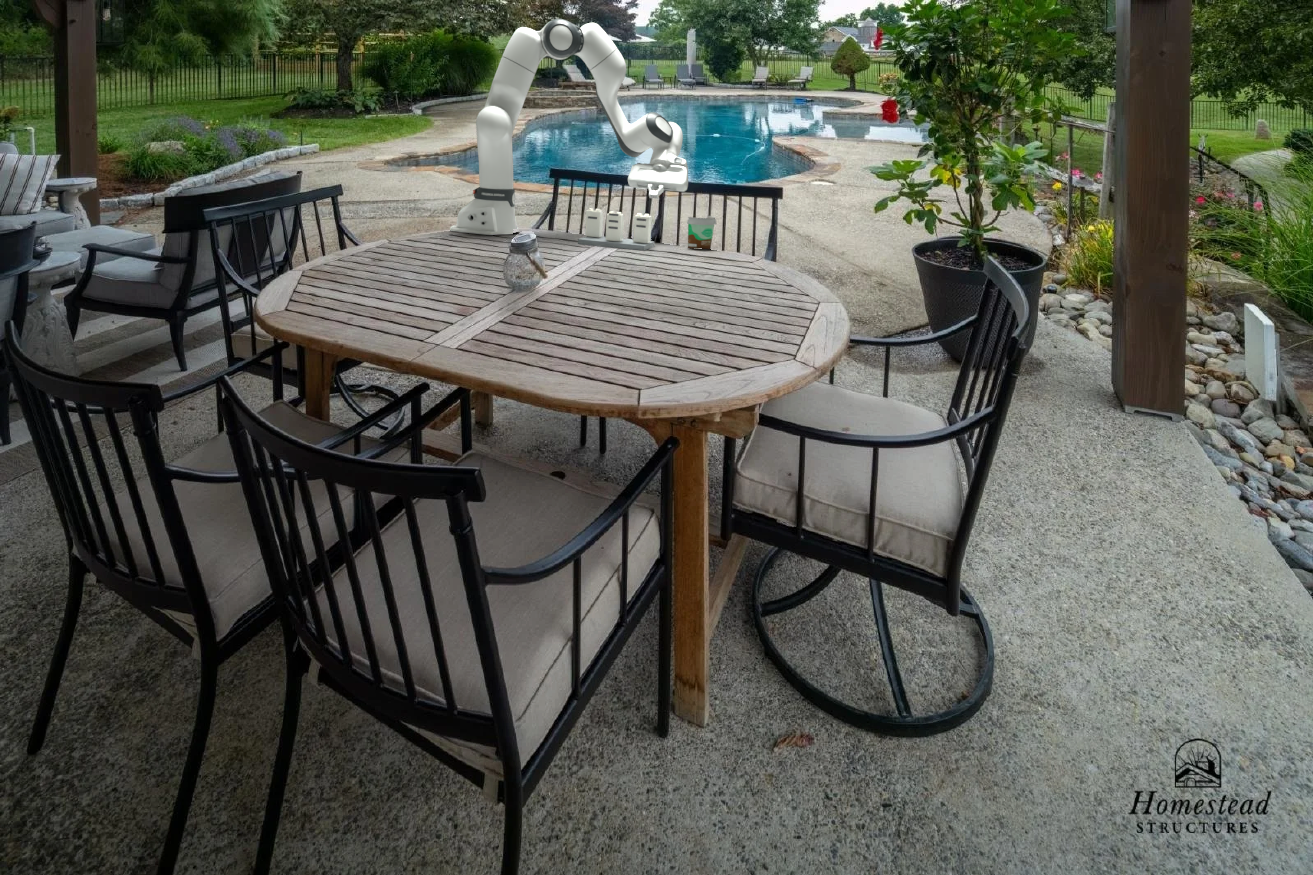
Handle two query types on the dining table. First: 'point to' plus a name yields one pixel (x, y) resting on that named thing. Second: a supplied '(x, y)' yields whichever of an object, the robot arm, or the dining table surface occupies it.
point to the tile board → (615, 243)
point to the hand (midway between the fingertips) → (653, 197)
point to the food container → (700, 232)
